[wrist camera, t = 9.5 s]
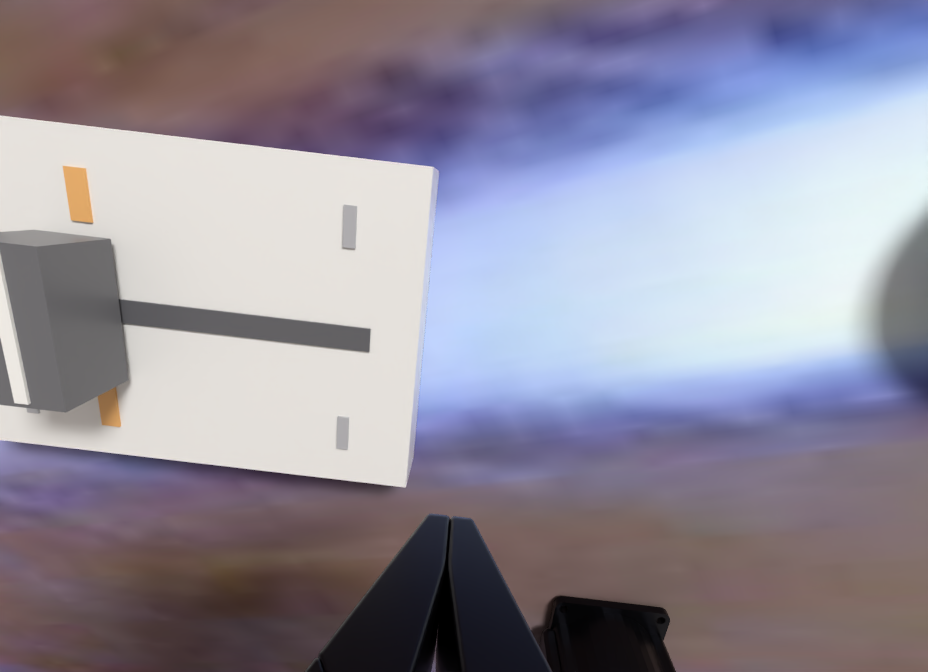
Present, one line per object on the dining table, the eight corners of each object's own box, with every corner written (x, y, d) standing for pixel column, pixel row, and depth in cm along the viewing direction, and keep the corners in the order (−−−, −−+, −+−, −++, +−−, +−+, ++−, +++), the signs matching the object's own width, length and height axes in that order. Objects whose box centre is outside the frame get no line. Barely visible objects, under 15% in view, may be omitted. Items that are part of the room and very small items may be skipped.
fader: (110, 238, 17) (33, 246, 14) (128, 380, 19) (63, 413, 16) (34, 229, 17) (-60, 236, 14) (59, 372, 19) (-20, 404, 16)
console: (439, 171, 19) (432, 166, 16) (413, 457, 23) (405, 488, 20) (-31, 115, 19) (-110, 102, 16) (29, 412, 23) (-26, 438, 20)
